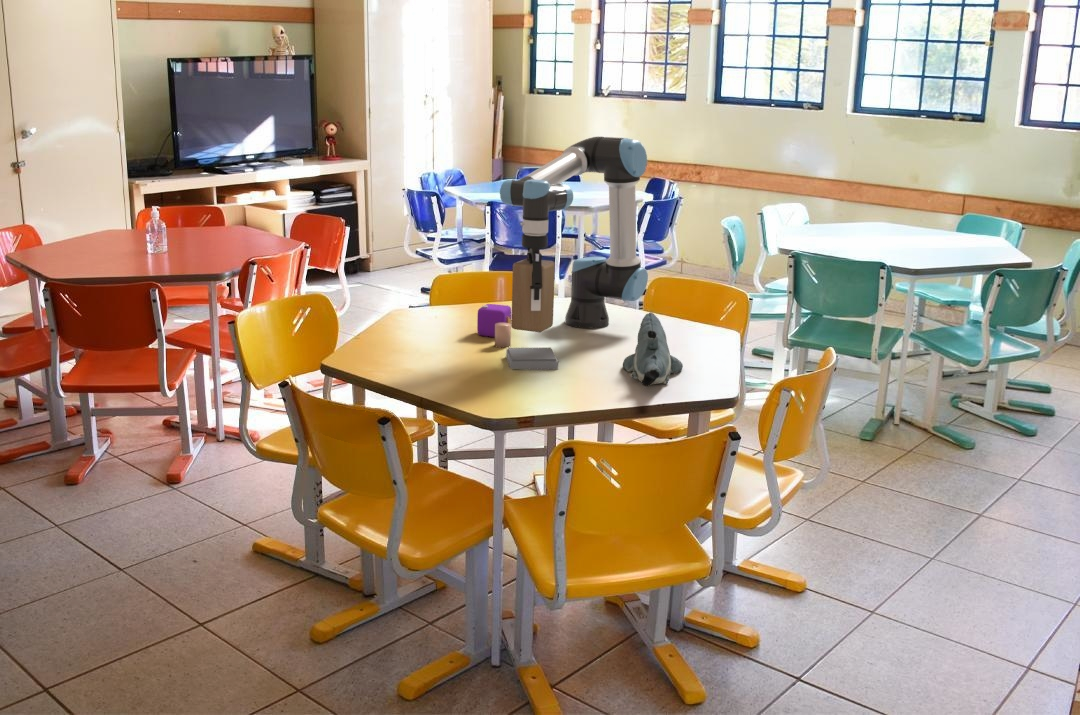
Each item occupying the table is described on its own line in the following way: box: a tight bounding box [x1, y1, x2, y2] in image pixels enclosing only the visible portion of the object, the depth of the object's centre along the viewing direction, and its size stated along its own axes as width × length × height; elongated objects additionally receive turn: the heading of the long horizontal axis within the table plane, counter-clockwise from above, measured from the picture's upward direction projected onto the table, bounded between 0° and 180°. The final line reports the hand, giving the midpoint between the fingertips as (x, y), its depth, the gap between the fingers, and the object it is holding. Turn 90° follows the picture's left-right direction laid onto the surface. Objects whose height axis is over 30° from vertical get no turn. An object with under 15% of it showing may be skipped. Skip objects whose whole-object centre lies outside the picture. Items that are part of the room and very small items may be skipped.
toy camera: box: [476, 303, 512, 338], centre depth 348 cm, size 11×14×10 cm
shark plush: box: [622, 312, 684, 387], centre depth 299 cm, size 18×39×16 cm, turn 163°
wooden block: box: [511, 257, 556, 333], centre depth 310 cm, size 10×10×20 cm
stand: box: [505, 347, 559, 370], centre depth 316 cm, size 14×14×3 cm
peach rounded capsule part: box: [494, 323, 512, 348], centre depth 333 cm, size 5×5×7 cm
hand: (532, 305), depth 311 cm, fingers closed on wooden block, 13 cm apart
